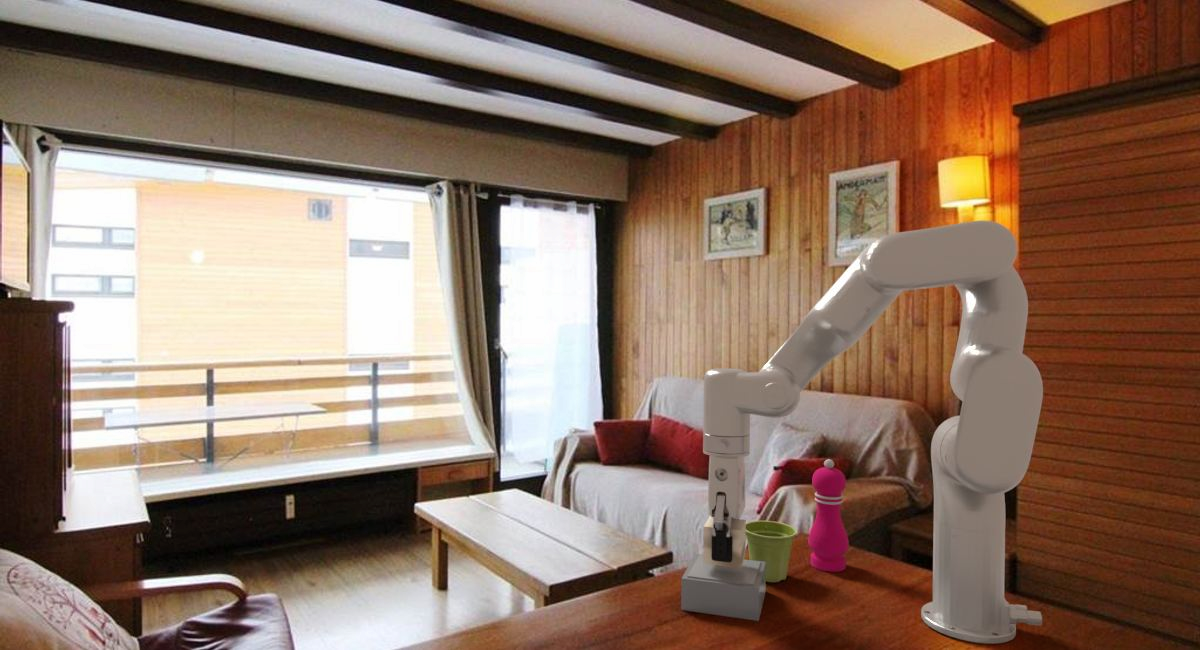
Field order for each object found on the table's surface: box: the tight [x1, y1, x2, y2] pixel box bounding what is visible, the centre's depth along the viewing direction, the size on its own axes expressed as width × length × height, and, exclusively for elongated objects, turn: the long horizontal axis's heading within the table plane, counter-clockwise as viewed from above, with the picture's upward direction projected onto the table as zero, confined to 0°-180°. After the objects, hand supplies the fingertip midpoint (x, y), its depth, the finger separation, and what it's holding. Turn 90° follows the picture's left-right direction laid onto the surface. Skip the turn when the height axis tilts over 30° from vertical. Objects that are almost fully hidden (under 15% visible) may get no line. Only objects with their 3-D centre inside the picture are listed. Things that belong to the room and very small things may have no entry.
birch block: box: [702, 515, 747, 568], centre depth 112 cm, size 6×6×6 cm
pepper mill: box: [807, 458, 850, 573], centre depth 127 cm, size 7×7×20 cm
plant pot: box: [746, 520, 798, 583], centre depth 122 cm, size 9×9×9 cm
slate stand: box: [680, 553, 767, 622], centre depth 112 cm, size 12×12×5 cm
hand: (724, 552), depth 112 cm, fingers closed on birch block, 6 cm apart
